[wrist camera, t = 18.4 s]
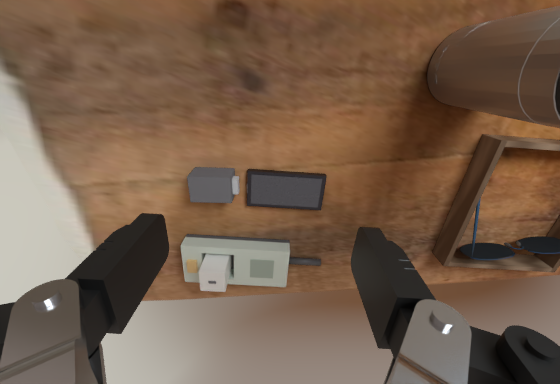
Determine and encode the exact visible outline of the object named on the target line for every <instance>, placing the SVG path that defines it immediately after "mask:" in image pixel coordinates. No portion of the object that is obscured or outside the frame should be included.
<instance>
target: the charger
mask: <svg viewBox="0 0 560 384" xmlns="http://www.w3.org/2000/svg"><path fill="white" fill-rule="evenodd" d="M231 267H232V256H231V255H226V254H209V253H206V255H205V257H204V260H203V262H202V265H201V267H200V270H199V281H200V290H201V291H218V292H225V291H226V287H227V283H228V279H229V275H230V271H231Z"/></svg>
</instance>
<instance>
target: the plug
mask: <svg viewBox="0 0 560 384" xmlns="http://www.w3.org/2000/svg"><path fill="white" fill-rule="evenodd" d="M187 180H188V187H189V194H190V201H191V202H208V203H232V201H233V198H234V195H235V194H238V193H239V176H235V169H234V168H207V167H195V168H194V169H193V171H192V172H191V173H190V174H189V175H188V176H187Z"/></svg>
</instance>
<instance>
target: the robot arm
mask: <svg viewBox="0 0 560 384" xmlns="http://www.w3.org/2000/svg"><path fill="white" fill-rule="evenodd" d="M427 82H428V86H429V89H430V92H431V94H432V95H433V96H434V97H435V98H436V99H437V100H438V101H440V102H441V103H444V104H447V105H452V106H456V107H461V108H465V109H470V110H475V111H479V112H484V113H489V114H494V115H498V116H503V117H508V118H513V119H517V120H522V121H527V122H532V123H537V124H541V125H546V126H552V127H556V128H560V6H556V7H552V8H547V9H543V10H538V11H534V12H529V13H525V14H521V15H516V16H512V17H507V18H503V19H499V20H494V21H489V22H485V23H480V24H476V25H471V26H467V27H464V28H462V29H459V30H457V31H456V32H454V33H452V34H451V35H450V36H448V37H447V38H446V39H445V40H444V41H443V42H442V43H441V44H440V46H439V47H438V48H437V49H436V51H435V53H434V55H433V56H432V59H431V61H430V64H429V68H428V73H427ZM168 253H169V242H168V236H167V230H166V224H165V218H164V216H163V215H162V214H147V213H142V214H140V215H139V216H138V217H137V218H136V219H135V220H134V221H133V222H132V223H131V224H130V225H125V226H124V227H122V228H120V229H118V230H116V231H115V232H113V233H112V234H111V235H110V236H109V237H108V238H107V239H106V240H105V241H104V243H102V244H101V245H100V246H99V247H98V248H96V251H93V252H92V253H91V254H90V255H89V256H88V257H87V258H86V259H85V260H84V261H83V262H82V263H81V264H80V265H79V266H78V267H77V268H76V269H75V270H74V271H73V272H72V273H71V274H70V275H68V276H67V278H65V279H60V280H54V281H50V282H47V283H44V284H42V285H39V286H37V287H35V288H33V289H31V290H30V291H28V292H27V293H25V294H24V295H23V296H22V297H20V298H19V299H18V300H17V301H16V302H14V303H8V304H2V305H0V384H107V383H106V375H105V366H104V358H103V349H102V345H101V341H102V339H103V338H104V336H105V335H106V333H116V334H121V333H122V332H123V330H124V328H125V327H126V325H127V323H128V322H129V320H130V318H131V317H132V315H133V313H134V312H135V310H136V309H137V307H138V305H139V304H140V302H141V300H142V299H143V297H144V296H145V294H146V292H147V291H148V289H149V287H150V286H151V284H152V282H153V281H154V279H155V278H156V276H157V274H158V273H159V271H160V269H161V268H162V266H163V264H164V263H165V261H166V259H167V257H168ZM351 268H352V273H353V276H354V279H355V282H356V284H357V287H358V290H359V293H360V296H361V299H362V302H363V305H364V308H365V311H366V314H367V317H368V320H369V323H370V326H371V329H372V332H373V335H374V337H375V340H376V343H377V346H378V348H382V349H391V351H392V354H393V359H392V362H391V365H390V367H389V370H388V373H387V376H386V378H385V381H384V384H560V346H558V345H557V344H556V343H555V342H553V341H552V340H550V339H549V338H547V337H546V336H544V335H542V334H540V333H538V332H536V331H534V330H532V329H529V328H526V327H523V326H509V327H507V328H506V329H505V331H504V332H503V334H502V335H501V336H500V335H497V334H494V333H490V332H487V331H484V330H481V329H478V328H474V327H472V326H469V324H468V323H467V321H466V320H465V319H464V317H463V316H462V315H460V313H458V312H457V311H456V310H454V309H453V308H452V307H450V306H448V305H446V304H444V303H442V302H439V301H436V299H435V298H434V296H433V295H432V293H431V292H430V290H429V289H428V287H427V286H426V284H425V283H424V281H423V280H422V278H421V276H420V275H419V273H418V272H417V270H415V267H414V266H413V264H412V263H411V261H409V258H408V257H407V255H406V254H405V252H404V251H403V249H401V248H400V247H399V246H398V245H396V244H395V243H394V242H393V241H387V239H386V238H385V236H384V234H383V233H382V231H381V230H380V229H379V228H370V227H360V228H359V229H358V232H357V236H356V240H355V244H354V248H353V252H352V257H351Z"/></svg>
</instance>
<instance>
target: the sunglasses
mask: <svg viewBox="0 0 560 384" xmlns="http://www.w3.org/2000/svg"><path fill="white" fill-rule="evenodd" d="M479 206H480V200H479V202H478V204H477V206H476V214H475V223H474V232H473V242H472V244H467V245H464V246H462V247H461V248H460V251H461V252H462V253H463V254H465V255H466V256H468V257H470V258H472V259H477V260H499V259H498V258H501V259H506V258H505V257H507V258H510V257H509V256H511V257H513V256H514V255H515V253H514V252H513V250H511V249H510V248H508V247H511V248H512V246H511V245H510V244H508V243H504V244H505V245H506V246H507V247H506V246H503V245H500V244H494V243H475V238H476V231H477V223H478V215H479ZM516 245H517V246H519V247H521V249H525V250H528V251H530V252H533V253H539V254H557V253H556V252H558V253H560V239H558V238H555V237H529V238H524V239H521V240H518V241H517V242H516ZM513 249H518V248H513ZM518 250H520V249H518Z"/></svg>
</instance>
